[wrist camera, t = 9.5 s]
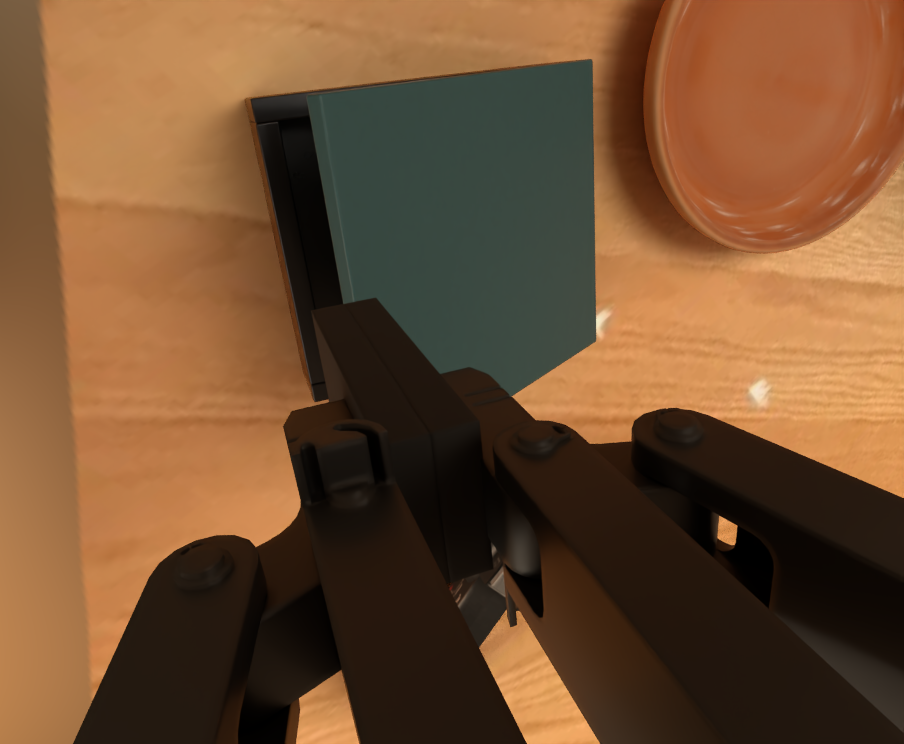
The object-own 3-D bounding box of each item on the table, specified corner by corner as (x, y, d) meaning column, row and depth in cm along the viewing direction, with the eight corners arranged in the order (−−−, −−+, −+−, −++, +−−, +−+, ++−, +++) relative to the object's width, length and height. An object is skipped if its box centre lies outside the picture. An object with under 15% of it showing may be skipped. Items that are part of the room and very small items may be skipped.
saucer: (608, 258, 33) (642, 271, 31) (632, -131, 27) (678, -156, 24) (854, 228, 38) (902, 238, 35) (923, -110, 32) (988, -128, 29)
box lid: (373, 474, 22) (385, 479, 22) (304, 94, 17) (318, 93, 17) (585, 339, 30) (597, 341, 30) (579, 60, 26) (593, 58, 25)
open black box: (303, 373, 30) (314, 403, 27) (244, 98, 25) (250, 98, 22) (553, 316, 33) (587, 337, 31) (543, 63, 29) (581, 59, 26)
